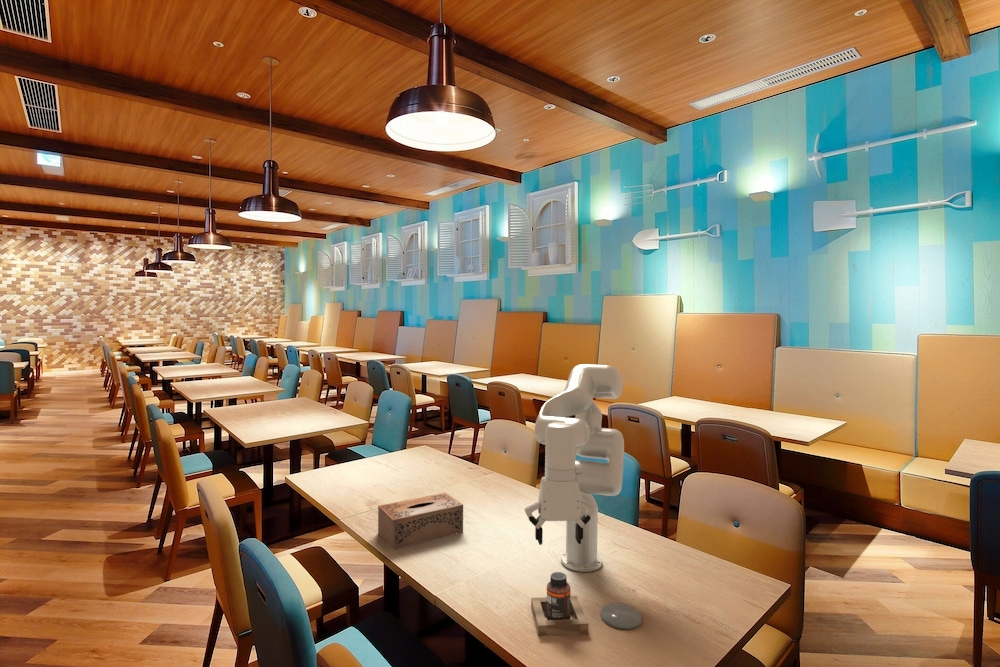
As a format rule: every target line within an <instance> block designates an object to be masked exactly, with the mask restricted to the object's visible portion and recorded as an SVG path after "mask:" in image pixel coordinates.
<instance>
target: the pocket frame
mask: <svg viewBox="0 0 1000 667" xmlns="http://www.w3.org/2000/svg"><path fill="white" fill-rule="evenodd" d="M530 600H531V602H530V603H531V604H530V605H531V606H530V609H531V612H532V615H533V619H534V623H535V628H536V632H537V636H538V637H548V636H550V637H551V636H568V635H569V636H570V635H571V636H572V635H588V634H589V622H588V620H587V618H586V615H585V613H584V610H583V607H582V606H581V602H579V599H578V597H577V595H570V603H571V604H570V607H571V609H570V611H571V615H572V617H573V618H572V619H571V618H570V619H567V620H547V619H546V618H545V614H544V612H547V596H546V597H545V596H544V597H531V598H530Z"/></svg>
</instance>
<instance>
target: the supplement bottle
mask: <svg viewBox="0 0 1000 667" xmlns="http://www.w3.org/2000/svg"><path fill="white" fill-rule="evenodd" d="M570 596H571V585H570V583H568V580H567V574H565V573H564V572H561V571H555V572H552V573H551V574H550V580H549V582H548V583H547V584H546V597H547V611H546V620H567V619H571V615H572V612H571V610H570V609H571V607H570V604H571V603H570Z"/></svg>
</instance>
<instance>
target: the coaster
mask: <svg viewBox="0 0 1000 667" xmlns="http://www.w3.org/2000/svg"><path fill="white" fill-rule="evenodd" d="M600 617H601V620H602V621H603V622H604V623H605V624H606V625H608V626H610V627H612V628H614V629H618V630H633V629H637V628H638V627H639V626H641V624H642V614H641V613H640V611H639V610H638V609H636V608H635V607H633V606H631V605H628V604H624V603H620V602H615V603H614V602H612V603H609V604H605V605H604V606H603V607H602V608H601V609H600Z"/></svg>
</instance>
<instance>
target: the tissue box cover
mask: <svg viewBox="0 0 1000 667" xmlns="http://www.w3.org/2000/svg"><path fill="white" fill-rule="evenodd" d="M377 518H378V519H377V522H378V523H377V532H378V533H377V535H379V536H380V537H381V538H382V540H383V541H384V542H385V543H386V544H387V543H388V544H389V545H388V544H387V545H388V546H389V547H390V548H391V549H392V550H397V549H402V548H405V547H409V546H414V545H417V544H421V543H426V542H428V541H434V540H437V539H442V538H444V537H445V536H446V537H449V535H450V536H453V535H452V534H454V535H457V534H456V533H458V534H461V533H460V532H462V533H464V504H463V503H462V502H460V501H458V500H457V499H455V498H454V497H453V496H451V495H449V493H446V492H442V493H437V494H432V495H431V494H430V495H426V496H421V497H416V498H410V499H405V500H401V501H395V502H390V503H386V504H380V505H378V506H377ZM446 537H445V538H446ZM425 541H426V542H425Z"/></svg>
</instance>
